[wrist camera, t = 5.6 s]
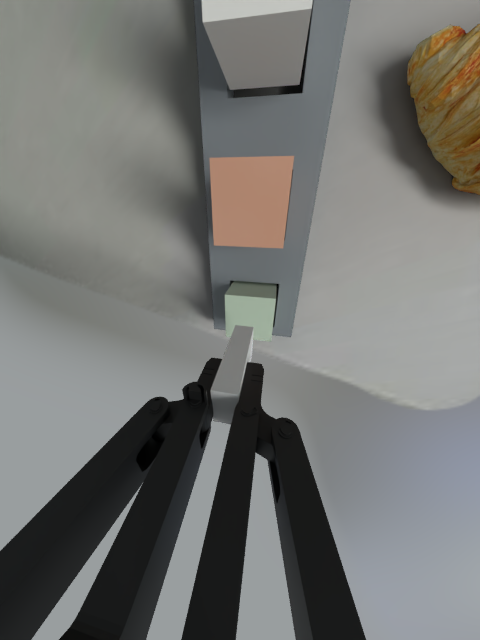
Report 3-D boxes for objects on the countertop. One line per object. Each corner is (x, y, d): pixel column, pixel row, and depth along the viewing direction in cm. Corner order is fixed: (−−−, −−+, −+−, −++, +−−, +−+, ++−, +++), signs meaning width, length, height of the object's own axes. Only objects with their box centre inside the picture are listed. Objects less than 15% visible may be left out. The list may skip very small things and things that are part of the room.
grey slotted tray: (203, -19, 14) (190, -60, 12) (352, -43, 12) (367, -95, 10) (219, 319, 28) (214, 328, 26) (290, 326, 26) (291, 337, 24)
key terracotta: (230, 173, 17) (209, 157, 12) (289, 173, 16) (294, 155, 11) (231, 236, 19) (213, 245, 14) (282, 237, 19) (283, 248, 13)
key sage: (236, 276, 24) (224, 294, 19) (276, 279, 23) (276, 298, 18) (236, 312, 27) (225, 336, 22) (272, 315, 26) (271, 341, 21)
